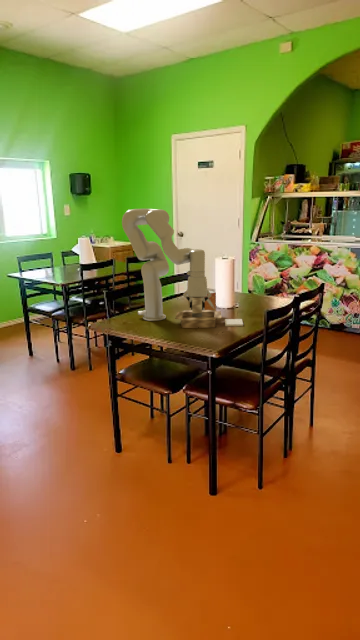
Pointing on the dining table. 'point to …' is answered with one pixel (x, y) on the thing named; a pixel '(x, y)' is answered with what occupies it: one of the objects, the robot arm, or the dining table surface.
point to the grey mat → (233, 322)
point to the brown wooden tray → (198, 319)
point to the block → (196, 306)
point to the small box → (210, 302)
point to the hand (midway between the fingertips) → (197, 308)
